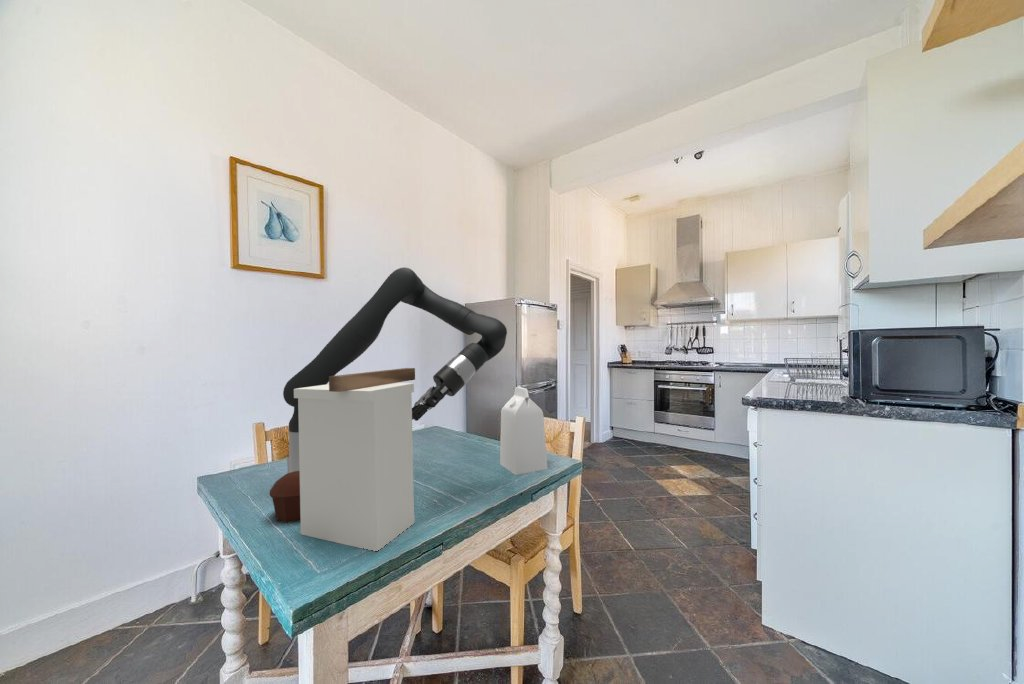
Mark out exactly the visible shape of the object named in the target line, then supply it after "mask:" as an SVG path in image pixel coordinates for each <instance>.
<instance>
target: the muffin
mask: <svg viewBox="0 0 1024 684" xmlns="http://www.w3.org/2000/svg"><path fill="white" fill-rule="evenodd" d="M269 496H270V498H272V503H273V508H274V514H275V517H276V521H277V522H281V523H292V522H296V521H298V522H299V521H301V519H300V471H294V472H290V473H288V472H287V473H286V474H284V475H283V476H281V477H280V478H278V479H277V480H276V481H275V482H274V484H273V485H272V487H271V489H270V490H269Z"/></svg>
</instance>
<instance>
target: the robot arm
mask: <svg viewBox="0 0 1024 684" xmlns="http://www.w3.org/2000/svg"><path fill="white" fill-rule="evenodd" d="M400 303H403V304H407V305H409V306H412V307H415V308H418V309H421V310H423V311H425V312H427V313H429V314H431V315H434V316H435V317H437V318H438V319H440V321H441V320H442V321H443V322H444V323H446V324H447V325H449V326H450V327H452V328H454V329H456V330H457V331H459V332H461V333H463V334H465V335H467V336H472V335H474V334H475V333H476V334H479V335H480V336H481V338H480V340H479V341H477V342H471V343H469V344H467V345H466V346H465V347H464V348H463V349H462V350H460V352H459V353H457V354H456V355H454V357H452V358H451V359H450V360H449V361H448V362H447V363H446V364H444V365H443V366H442V367H441V368H440V369H439V370H438V371H437V372H436V373H435V374H433V377H432V378H433V383H435V386H434V385H433V386H431V387H429V388H428V389H427V390H426V392H425V393H424V394H422V395H421V397H419V399H417V401H415V403H414V405H413V406H412V421H413V420H414V421H416V422H417V421H419V420H420V419H421V418H422V417H423V416H424V415H425V414H426V413H427V412H428V411H431V410H432V409H434V408H435V407H436V406H437V405H438V404H439V402H441V401H442V400H444V398H445V396H449V397H454V396H456V394H457V393H458V392H460V390H461V389H462V388H463V387H464V386H465V385H466V384H467V383H468V382H469V381H470V380H472V377H473V376H474V375H475V374H476V373H477V372H478V371H479V369H481V368H482V366H483V365H484V364H485V363H487V362H489V361H490V360H492V359H493V358H494V357H496V356H497V355H498V354H499V353H500V352H501V351H502V350H503V349H504V347H505V344H506V340H507V335H508V332H507V331H508V329H507V326H506V325H505V324H504V322H502V321H501V320H499V319H498V318H495V317H492V316H488V315H485V314H482V313H481V314H480V313H478V312H475V311H473V310H472V309H470V308H469V307H467V306H465V305H463V304H461V303H459V302H456V301H454V300H452V299H449V298H446V297H443V296H441V295H439V294H437V293H436V292H434V291H433V290H432V289H430V288H429V287H428V286H427V285H426V284H425V283H423V281H422V280H421V278H420V277H419V276H418V275H417V273H416V272H415V271H414V270H413V269H412V268H409V267H399V268H397V269H395V270H393V271H392V272H391V273H390V274H389V275H388V276H387V277H386V279H385V280H384V281H383V282H382V284H381V285H380V287H378V289H377V291H376V292H375V293H374V294H373V295H372V296H371V297H370V298H369V300H368V301H367V302H366V303H365V304H363V306H362V307H361V308H360V309H359V311H357V313H355V315H354V316H352V317H351V318H350V319H349V320H348V321H347V322H346V323H345V324H344V325H343V326H342V327H341V328H340V329H339V331H337V333H336V334H335V335H334V336H333V337H332V338H331V339H330V340H329V342H328V343H327V344H326V345H325V346H324V347H323V348H322V350H320V352H319V353H318V354H317V355H316V356H315V357H314V358H313V359H312V360H311V361H310V362H309V363H308V364H306V365H305V366H304V367H303V368H302V369H301V370H299V371H298V372H297V373H296V374H295V375H293V376H292V377H291V378H290V379H289V380H288V381H287V382H286V383H285V385H284V387H283V391H282V396H283V399H284V401H285V403H287V405H288V406H291V407H292V408H293V412H292V417H291V418H290V419H289V422H288V446H289V447H288V449H289V452H288V454H289V455H288V456H287V460H286V461H287V462H286V463H287V464H286V465H287V468H286V469H287V474H288V473H290V472H294V471H300V468H299V418H298V398H294V389H296V388H304V387H311V386H319V385H327V384H329V376H337V374H338V373H339V372H340V371H342V370H343V369H345V368H346V367H348V366H349V365H350V364H351V363H353V362H355V361H356V360H357V359H358V358H359V357H360V356H362V355H363V354H364V352H366V351H367V350H368V349H369V348H370V347H371V346H372V345H373V343H374V342H375V341H376V340H377V339H378V337H379V336H380V333H381V331H382V329H383V326H384V323H385V321H386V319H387V317H388V316H389V314H390V313H391V312H392V310H394V309H395V308H396V307H397V305H399V304H400Z"/></svg>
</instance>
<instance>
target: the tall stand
mask: <svg viewBox="0 0 1024 684" xmlns="http://www.w3.org/2000/svg"><path fill="white" fill-rule="evenodd" d="M412 393H415V383H413V382H409V383H408V382H398V383H392V384H385V385H379V386H373V387H367V388H361V389H355V390H348V391H342V392H332V391H329V383H327V384H326V385H319V386H311V387H304V388H296V389H294V398H298V418H299V468H300V519H301V520H300V535H303V536H305V537H309V538H314V539H320V540H323V541H328V542H331V543H337V544H341V545H345V546H349V547H353V548H354V547H355V548H358V549H363V548H364V549H363V550H366V549H368V550H367V551H371V550H373V551H372V552H375V551H378V550H379V551H380V549H381V548H382V549H383V548H384V546H385V545H386V544H387V545H388V544H390V543H391V542H393V539H394V538H395V539H397V538H398V537H399V536H400V535H401V534H403V533H404V532H405V531H407V530H408V529H409V528H411V527H412V526H414V524H415V496H414V494H415V493H414V491H415V490H414V487H415V486H414V452H413V451H414V447H413V444H414V443H413V420H412V408H413V405H412V403H413V402H412V399H413V398H412V396H413V395H412ZM411 525H412V526H411ZM410 526H411V527H410ZM407 528H408V529H407ZM406 529H407V530H406ZM403 531H404V532H403ZM402 532H403V533H402ZM399 534H400V535H399ZM398 535H399V536H398ZM397 536H398V537H397ZM395 539H394V540H395ZM390 541H391V542H390ZM389 542H390V543H389ZM387 545H386V546H387ZM386 546H385V547H386ZM382 549H381V550H382ZM379 551H378V552H379Z"/></svg>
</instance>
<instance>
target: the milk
mask: <svg viewBox="0 0 1024 684" xmlns="http://www.w3.org/2000/svg"><path fill="white" fill-rule="evenodd" d="M544 417H545V416H544V411H543V409H542V408H541V407H540V406H538V405H537V403H535V401H533V400H532V399H531V397H530V395H529V391H528V388H526V387H520V386H518V387H517V386H516V387H515V389H514V393H513V396H512V397H511V398H510V399H509V400H508V401H507V402H506V403H505V404H504V406H502V408H501V410H500V442H499V443H500V444H499V445H500V448H499V449H500V450H499V451H500V452H499V465H500V466H502V467H503V468H504V469H506V470H508V471H509V472H510V473H512V474H513V475H515V476H518V475H523V474H528V473H534V472H539V471H544V470H548V468H549V467H548V457H547V456H548V454H547V445H546V444H547V443H546V431H545V419H544Z"/></svg>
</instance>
